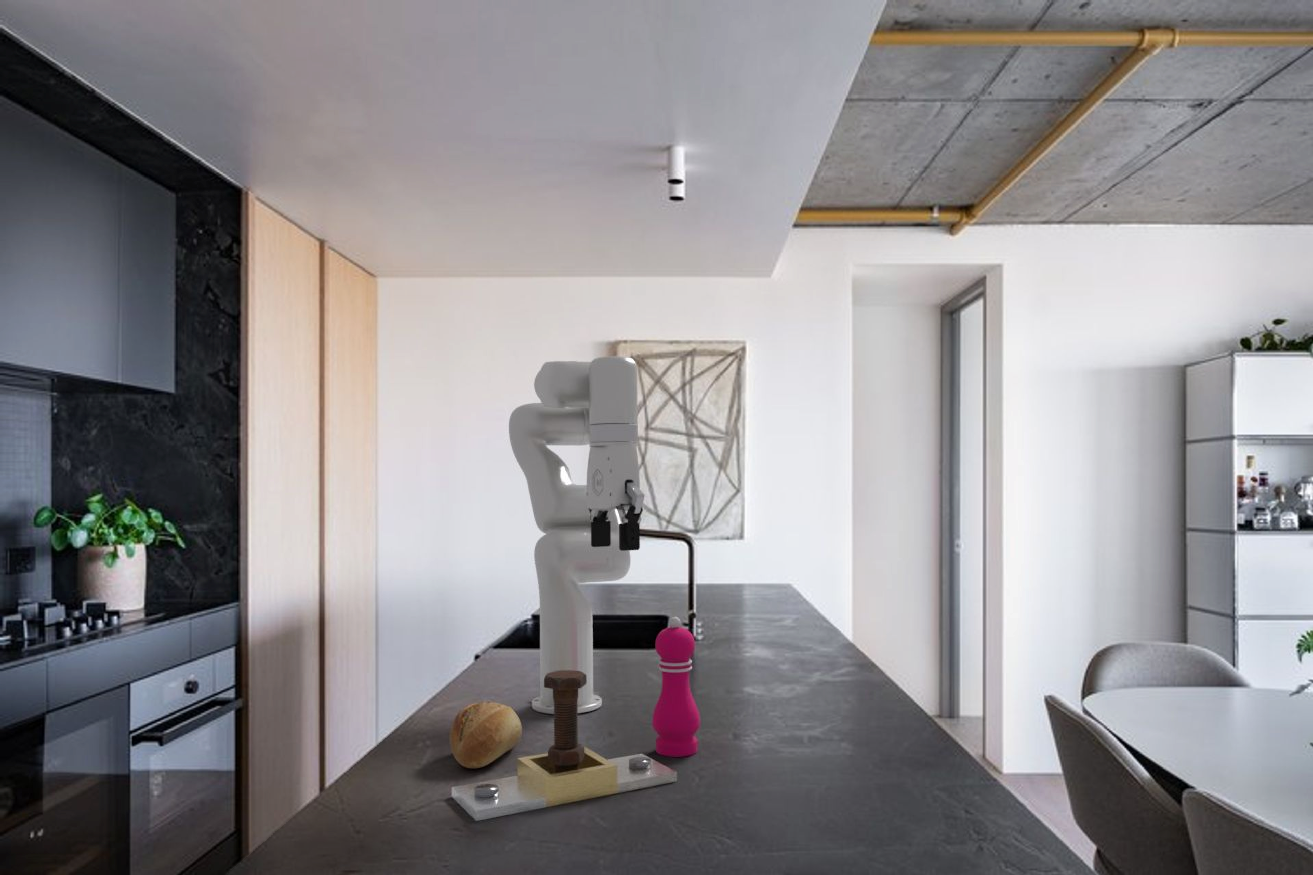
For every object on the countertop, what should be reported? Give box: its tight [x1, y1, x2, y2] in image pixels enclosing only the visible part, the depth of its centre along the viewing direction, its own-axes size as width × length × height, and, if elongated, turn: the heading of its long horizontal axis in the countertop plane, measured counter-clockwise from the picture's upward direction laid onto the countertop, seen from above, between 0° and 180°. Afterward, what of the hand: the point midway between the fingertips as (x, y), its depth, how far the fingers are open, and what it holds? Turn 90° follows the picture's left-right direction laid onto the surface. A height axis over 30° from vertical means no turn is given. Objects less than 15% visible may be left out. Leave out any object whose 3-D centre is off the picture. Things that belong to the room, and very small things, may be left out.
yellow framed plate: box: [451, 746, 678, 822], centre depth 121 cm, size 10×28×4 cm, turn 119°
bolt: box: [544, 670, 587, 774], centre depth 122 cm, size 6×5×15 cm
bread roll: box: [449, 701, 523, 769], centre depth 135 cm, size 10×15×8 cm, turn 171°
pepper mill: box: [651, 616, 701, 758], centre depth 138 cm, size 7×7×20 cm
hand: (614, 548), depth 141 cm, fingers open, 9 cm apart
